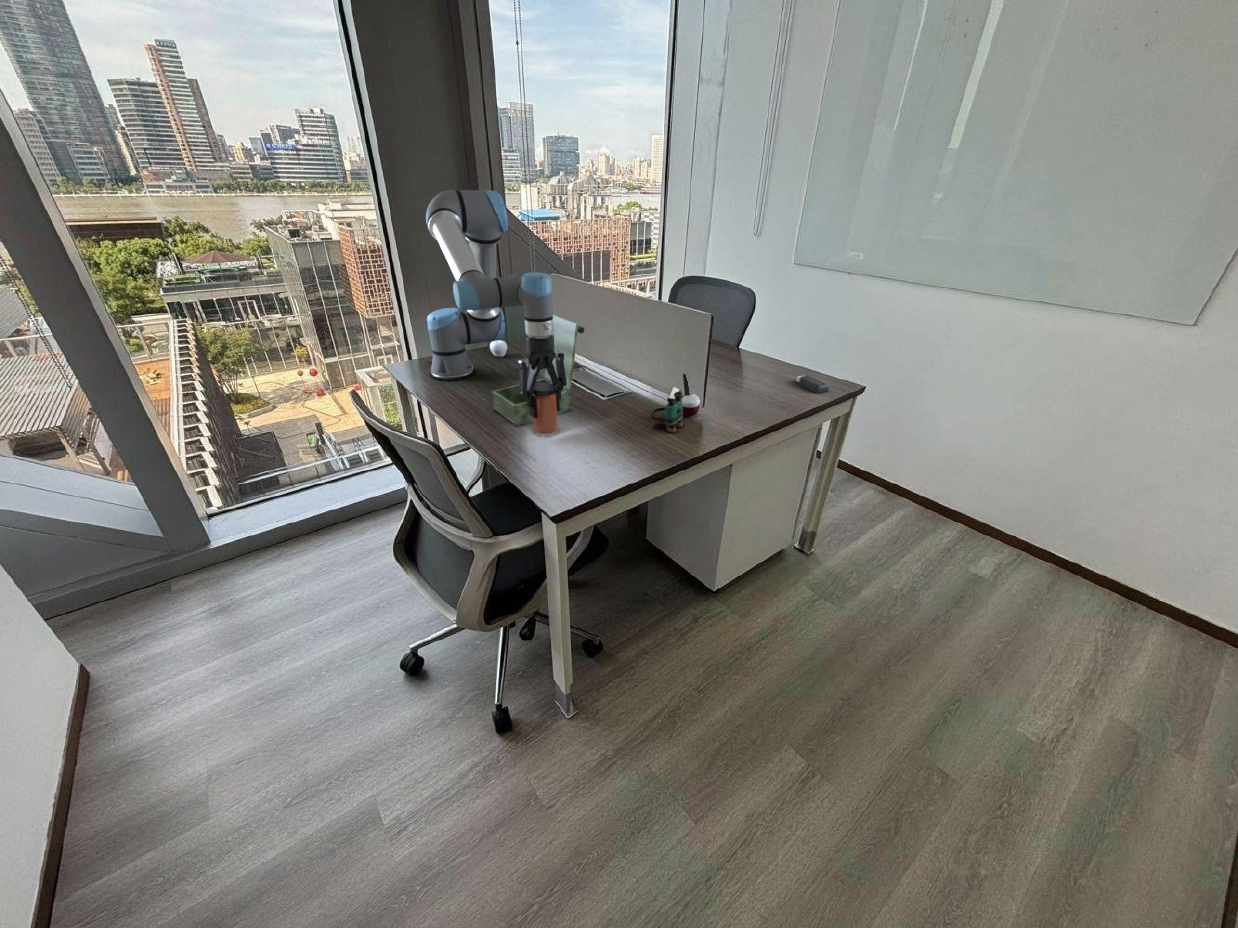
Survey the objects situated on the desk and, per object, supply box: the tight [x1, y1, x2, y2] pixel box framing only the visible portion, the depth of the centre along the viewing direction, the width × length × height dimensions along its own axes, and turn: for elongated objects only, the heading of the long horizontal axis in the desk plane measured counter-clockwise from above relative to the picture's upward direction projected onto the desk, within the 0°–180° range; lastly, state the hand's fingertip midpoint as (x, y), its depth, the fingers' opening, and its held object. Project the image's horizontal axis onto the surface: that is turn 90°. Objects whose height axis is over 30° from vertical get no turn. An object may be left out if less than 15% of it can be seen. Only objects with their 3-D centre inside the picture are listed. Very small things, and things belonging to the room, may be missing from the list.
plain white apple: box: [489, 339, 508, 358], centre depth 203 cm, size 7×7×8 cm
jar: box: [532, 383, 559, 435], centre depth 142 cm, size 7×7×13 cm
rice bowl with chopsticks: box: [681, 373, 701, 418], centre depth 154 cm, size 10×6×12 cm, turn 173°
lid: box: [544, 314, 585, 391], centre depth 157 cm, size 20×15×6 cm
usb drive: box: [795, 375, 830, 394], centre depth 179 cm, size 5×12×3 cm, turn 25°
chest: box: [491, 377, 571, 425], centre depth 156 cm, size 20×15×7 cm
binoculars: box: [650, 391, 684, 433], centre depth 147 cm, size 9×11×10 cm
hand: (545, 413), depth 142 cm, fingers closed on jar, 7 cm apart
